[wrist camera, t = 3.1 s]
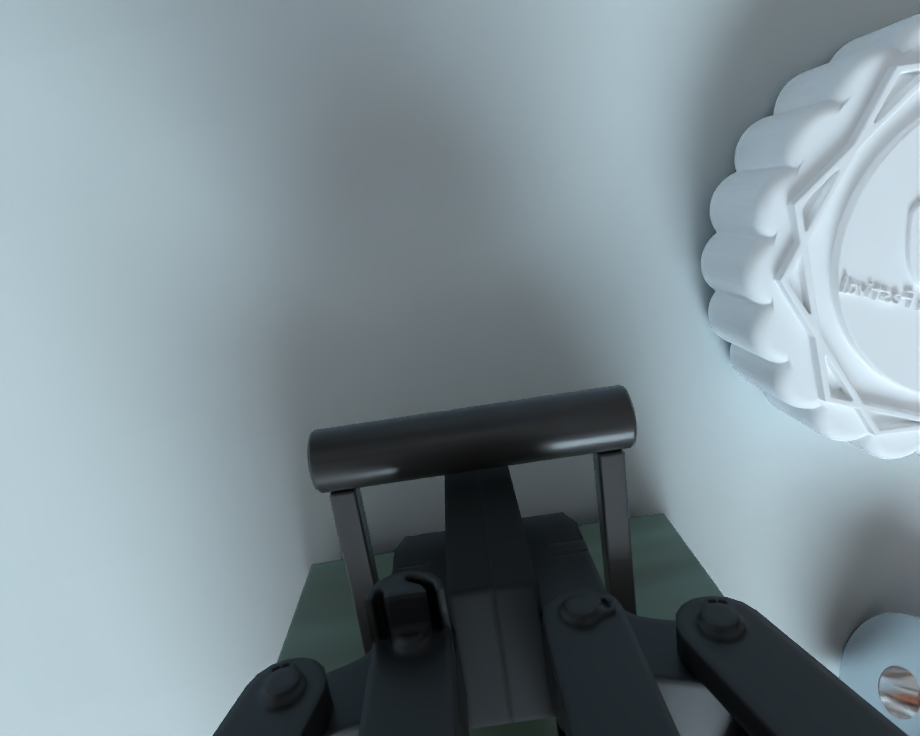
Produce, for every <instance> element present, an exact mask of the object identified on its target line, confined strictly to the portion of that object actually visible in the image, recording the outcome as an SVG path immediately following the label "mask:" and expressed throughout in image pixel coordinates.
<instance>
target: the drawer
mask: <svg viewBox="0 0 920 736" xmlns="http://www.w3.org/2000/svg"><path fill="white" fill-rule="evenodd" d="M636 434H637V426H636V417H635V412H634V407H633V404H632V401H631V398H630V396H629V394H628V392H627V390H626V389H625V387H624V386H621V385H616V386H609V387H602V388H595V389H589V390H582V391H575V392H568V393H562V394H555V395H548V396H541V397H534V398H528V399H521V400H514V401H507V402H501V403H494V404H487V405H480V406H474V407H467V408H460V409H453V410H447V411H440V412H433V413H426V414H420V415H413V416H406V417H399V418H392V419H386V420H379V421H372V422H365V423H359V424H352V425H345V426H338V427H332V428H325V429H318V430H314V431H313V432H311V434H310V436H309V440H308V447H307V457H308V467H309V472H310V476H311V480H312V482H313V485H314V487H315V489H316V490H317V491H318V492H321V493H326V492H331V493H330V501H331V505H332V510H333V514H334V519H335V523H336V527H337V532H338V536H339V541H340V545H341V550H342V554H343V559H344V560H337V561H331V562H324V563H317V564H313V565H312V566H311V569H310V571H309V574H308V577H307V580H306V583H305V585H304V588H303V591H302V594H301V597H300V599H299V602H298V605H297V608H296V611H295V613H294V616H293V619H292V622H291V625H290V627H289V630H288V633H287V636H286V639H285V641H284V644H283V647H282V650H281V653H280V655H279V658H278V661H277V663H278V662H281V661H283V660H286V659H291V658H300V657H305V658H309V659H314V660H316V661H317V662H319V663H320V664H321V665H322V666H323V667H324V669H325V673H328V672H330V671H333V670H335V669H338V668H341V667H343V666H346V665H348V664H350V663H352V662H354V661H356V660H358V659H360V658H361V657H363V656H364V655H365V654H367V653H368V652H369V651H370V650H371V649H372V639H371V634H370V630H369V625H368V620H367V616H366V611H365V607H364V602H363V600H364V598H365V596H366V594H367V592H368V590H369V589H370V588H371V587H373V586H374V585H375V584H376V583H377V582H378V581H380V580H382V579H384V578H386V577H388V576H389V575H392V569H393V560H394V552H392V553H385V554H378V555H374V553H373V548H372V544H371V539H370V534H369V529H368V525H367V520H366V515H365V510H364V505H363V501H362V496H361V491H360V487H367V486H374V485H380V484H387V483H394V482H401V481H408V480H414V479H421V478H428V477H435V476H442V475H448V474H455V473H462V472H469V471H476V470H482V469H489V468H496V467H503V466H510V465H516V464H523V463H530V462H537V461H544V460H550V459H557V458H564V457H571V456H578V455H584V454H591V453H593V460H594V471H595V481H596V492H597V503H598V514H599V522H597V523H591V524H584V525H578V527H579V529H580V531H581V534H582V536H583V539H584V541H585V543H586V545H587V548H588V551H589V552H590V554H591V557H592V559H593V561H594V564H595V566H596V568H597V571H598V573H599V575H600V578H601V580H602V582H603V585H604V587H605V589H606V592H607V593H608V594H610V595H612V596H614V597H615V598H616V599H617V600H618V602H619V603H620V604H621V605H622V607H623V609H624V610H626V611H627V612H629V613H632V614H635V615H638V616H642V617H647V618H653V619H665V620H676V613H677V611H678V610H679V608H680V607H681V605H682V604H684V603H686V602H688V601H690V600H691V599H693V598H699V597H704V596H719V597H724V596H723V594H722V593H721V592H720V590H719V589H718V587H717V586H716V585H715V583H714V582H713V581H712V579H711V578H710V576H709V575H708V574H707V572H706V571H705V570H704V568H703V567H702V565H701V564H700V563H699V561H698V560H697V559H696V557H695V556H694V554H693V553H692V552H691V550H690V549H689V547H688V546H687V545H686V543H685V542H684V541H683V539H682V538H681V536H680V535H679V534H678V532H677V531H676V530H675V528H674V527H673V525H672V524H671V523H670V521H669V520H668V519H667V517H666V516H665V514H663V513H659V514H652V515H645V516H638V517H632V518H629V506H628V493H627V480H626V467H625V454H624V452H623V450H622V449H625V448H630V447H632V446H634V444H635V441H636ZM554 714H555V713H554ZM468 724H469V721H468ZM469 736H558V732H557V724H556V717H550V718H543V719H536V720H529V721H522V722H515V723H508V724H501V725H494V726H487V727H480V728H473V729H470V727H469Z"/></svg>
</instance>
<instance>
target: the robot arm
mask: <svg viewBox="0 0 920 736" xmlns="http://www.w3.org/2000/svg"><path fill="white" fill-rule="evenodd" d="M445 529H446V531H442V532H435V533H428V534H422V535H415V536H408V537H405V538H404V540H403V541H402V542H401V543H400V545H399V546H398V547H397V549H396V550H395V552H394V560H393V569H392V575H389V576H388V577H386V578H384V579H382V580H380V581H378V582H377V583H376V584H375V585H374V586H373V587H371V588H370V589H369V590H368V592H367V594H366V596H365V598H364V600H363V602H364V607H365V611H366V616H367V620H368V625H369V630H370V634H371V639H372V649H371V650H370V651H369V652H368V653H367V654H365V655H364V656H363V657H361V658H360V659H358V660H356V661H354V662H352V663H350V664H348V665H346V666H343V667H341V668H338V669H335V670H333V671H330V672H328V673H325V669H324V667H323V666H322V665H321V664H320V663H319V662H317V661H316V660H314V659H309V658H305V657H300V658H291V659H286V660H283V661H281V662H278V663H276V664H273V665H271V666H269V667H268V668H266V669H265V670H263V671H262V672H260V673H259V674H257V675H256V676H255V678H254V679H253V680H252V681H251V682H250V683H249V684H248V685H247V686H246V688H245V689H244V690H243V692H242V693H241V695H240V696H239V698H238V699H237V701H236V702H235V704H234V705H233V707H232V708H231V709H230V711H229V712H228V714H227V715H226V717H225V718H224V720H223V721H222V723H221V724H220V726H219V727H218V729H217V730H216V731H215V733H214V734H213V736H469V727H470V729H473V728H480V727H487V726H494V725H501V724H508V723H515V722H522V721H529V720H536V719H543V718H550V717H556V724H557V732H558V736H908V735H907V734H906V733H905V732H904V731H902V730H901V729H900V728H899V727H897V726H896V725H895V724H894V723H893V722H891V721H890V720H889V719H888V718H887V717H885V716H884V715H883V714H882V713H880V712H879V711H878V710H877V709H876V708H874V707H873V706H872V705H871V704H870V703H868V702H867V701H866V700H865V699H863V698H862V697H861V696H860V695H859V694H857V693H856V692H855V691H854V690H853V689H851V688H850V687H849V686H848V685H846V684H845V683H844V682H843V681H842V680H840V679H839V678H838V677H837V676H835V675H834V674H833V673H832V672H831V671H829V670H828V669H827V668H826V667H825V666H823V665H822V664H821V663H820V662H818V661H817V660H816V659H815V658H814V657H812V656H811V655H810V654H809V653H808V652H806V651H805V650H804V649H803V648H801V647H800V646H799V645H798V644H797V643H795V642H794V641H793V640H792V639H791V638H789V637H788V636H787V635H786V634H784V633H783V632H782V631H781V630H780V629H778V628H777V627H776V626H775V625H774V624H772V623H771V622H770V621H769V620H767V619H766V618H765V617H764V616H763V615H761V614H760V613H759V612H758V611H756V610H755V609H753V608H751V607H750V606H748V605H746V604H745V603H743V602H740V601H737V600H734V599H731V598H727V597H719V596H704V597H699V598H693V599H691V600H690V601H688V602H686V603H684V604H682V605H681V607H680V608H679V610H678V611H677V613H676V620H665V619H653V618H647V617H642V616H638V615H635V614H632V613H629V612H627V611H626V610H624V609H623V607H622V605H621V604H620V603H619V602H618V600H617V599H616V598H615V597H614V596H612V595H610V594H608V593H607V592H606V589H605V587H604V585H603V582H602V580H601V578H600V575H599V573H598V571H597V568H596V566H595V564H594V561H593V559H592V557H591V554H590V552H589V551H588V548H587V545H586V543H585V541H584V539H583V536H582V534H581V531H580V529H579V527H578V524H577V523H576V522H575V521H574V520H572V519H571V518H570V517H568V516H567V515H565V514H564V513H563V512H561V513H554V514H547V515H540V516H533V517H527V518H521V515H520V511H519V507H518V503H517V500H516V496H515V492H514V488H513V484H512V480H511V476H510V473H509V469H508V466H503V467H496V468H489V469H482V470H476V471H469V472H462V473H455V474H448V475H445ZM554 713H555V714H554ZM468 721H469V724H468Z"/></svg>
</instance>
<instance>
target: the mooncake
mask: <svg viewBox="0 0 920 736" xmlns="http://www.w3.org/2000/svg"><path fill="white" fill-rule="evenodd" d="M734 163H735V169H736V172H735V173H733V174H731V175H730V176H728V177H727V178H726V179H724V180H723V181H722V182H721V183H720V185H719V186H718V187H717V189H716V190H715V192H714V194H713V196H712V199H711V203H710V219H711V222H712V225H713V227H714V229H715V230H716V234H715V235H713V236H712V238H711V239H710V240H709V241H708V243H707V244H706V246H705V248H704V250H703V253H702V257H701V270H702V274H703V276H704V279H705V280H706V282H707V283H708V285H709V286H710V287H712V288H713V289H714V290H715V293H714V294H713V296H712V298H711V300H710V304H709V309H708V317H709V322H710V324H711V327H712V329H713V330H714V331H715V333H716V334H717V335H718V336H719V337H721V338H722V339H724V340H726V341H728V342H730V343H732V344H731V347H730V360H731V364H732V366H733V368H734V370H735V371H736V373H737V374H738V375H739V376H740V377H742V378H743V379H745V380H746V381H748V382H750V383H752V384H753V385H755V386H757V387H759V388H760V389H762V390H764V393H765V396H766V397H767V399H768V401H769V402H770V403H771V404H772V405H773V406H775V407H776V408H777V409H779V410H781V411H782V412H784V413H786V414H787V415H789V416H791V417H792V418H794V419H796V420H797V421H799V422H801V423H802V424H804V425H806V426H807V427H809V428H810V429H812V430H814V431H815V432H817V433H819V434H820V435H822V436H824V437H826V438H828V439H831V440H835V441H848V442H850V443H851V444H853V445H855V446H857V447H858V448H860V449H862V450H863V451H865V452H867V453H869V454H870V455H872V456H875V457H878V458H882V459H898V458H902V457H905V456H908V455H910V454H912V453H916V454H918V455H920V13H919V14H917V15H914V16H912V17H909V18H907V19H904V20H902V21H899V22H897V23H894V24H892V25H889V26H887V27H884V28H882V29H879V30H877V31H874V32H871V33H869V34H866V35H864V36H861V37H859V38H856V39H854V40H852V41H850V42H849V43H847V44H845V45H844V46H843V47H842V48H840V49H839V50H838V51H837V52H836V54H835V55H834V56H833V57H832V59H831V60H830V62H829V63H827V64H824V65H821V66H819V67H816V68H813V69H810V70H808V71H805V72H803V73H801V74H799V75H797V76H796V77H794V78H793V79H791V80H790V81H789V82H788V83H787V84H786V85H785V86H784V88H783V89H782V91H781V92H780V94H779V96H778V98H777V100H776V103H775V107H774V115H772V116H768V117H765V118H762V119H760V120H758V121H757V122H755V123H754V124H752V125H751V126H750V127H749V128H748V129H747V130H746V131H745V132H744V133H743V135H742V136H741V138H740V140H739V142H738V144H737V147H736V150H735V157H734Z"/></svg>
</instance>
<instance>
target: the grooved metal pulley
mask: <svg viewBox="0 0 920 736" xmlns="http://www.w3.org/2000/svg"><path fill="white" fill-rule="evenodd" d="M839 679H840V680H842V681H843V682H844V683H845V684H846V685H848V686H849V687H850V688H851V689H853V690H854V691H855V692H856V693H857V694H859V695H860V696H861V697H862V698H863V699H865V700H866V701H867V702H868V703H870V704H871V705H872V706H873V707H874V708H876V709H877V710H878V711H879V712H880V713H882V714H883V715H884V716H885V717H887V718H888V719H889V720H890V721H891V722H893V723H894V724H895V725H896V726H897V727H899V728H900V729H901V730H902V731H904V732H905V733H906V734H907V735H908V736H920V618H919V617H915V616H912V615H908V614H904V613H884V614H880V615H877V616H874V617H872V618H870V619H868V620H867V621H865V622H864V623H863V624H861V625H860V626H859V627H858V628H857V629H856V630H855V632H854V633H853V634H852V636H851V637H850V639H849V641H848V642H847V645H846V647H845V649H844V652H843V655H842V659H841V664H840V671H839Z"/></svg>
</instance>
